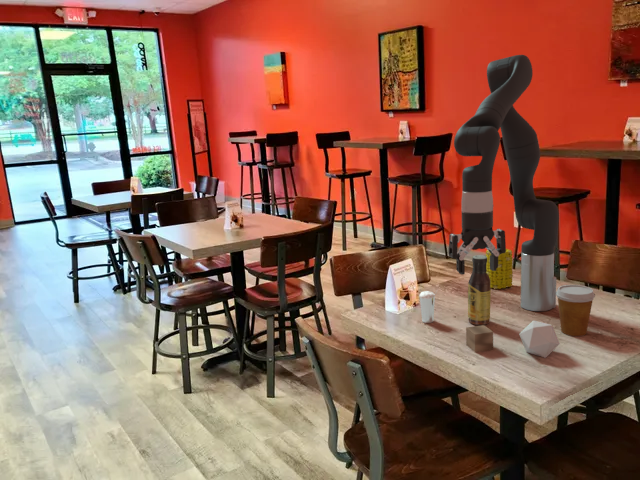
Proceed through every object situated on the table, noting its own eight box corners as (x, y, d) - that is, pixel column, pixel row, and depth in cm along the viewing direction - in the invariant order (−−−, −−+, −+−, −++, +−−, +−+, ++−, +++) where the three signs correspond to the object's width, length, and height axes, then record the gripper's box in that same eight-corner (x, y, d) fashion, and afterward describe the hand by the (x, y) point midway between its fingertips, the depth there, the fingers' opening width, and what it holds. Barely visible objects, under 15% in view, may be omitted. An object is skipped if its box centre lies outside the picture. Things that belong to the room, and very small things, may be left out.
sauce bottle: (465, 319, 165) (465, 254, 160) (487, 317, 164) (487, 252, 160) (471, 327, 158) (470, 259, 154) (493, 326, 158) (493, 258, 154)
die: (565, 355, 138) (552, 318, 142) (560, 351, 131) (546, 312, 135) (532, 363, 141) (520, 327, 145) (525, 359, 134) (513, 321, 138)
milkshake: (438, 324, 162) (437, 291, 160) (419, 323, 163) (418, 291, 161) (438, 318, 166) (437, 286, 164) (420, 318, 168) (419, 286, 165)
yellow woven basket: (488, 294, 190) (487, 287, 198) (521, 287, 186) (519, 281, 195) (478, 254, 188) (478, 249, 197) (511, 247, 185) (509, 242, 194)
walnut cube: (483, 342, 147) (483, 325, 146) (493, 350, 143) (493, 331, 142) (466, 345, 147) (466, 327, 145) (475, 352, 142) (474, 334, 141)
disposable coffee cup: (590, 326, 153) (592, 284, 151) (595, 339, 144) (597, 295, 142) (553, 324, 156) (554, 283, 154) (555, 337, 148) (557, 294, 145)
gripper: (496, 204, 142) (496, 265, 145) (443, 209, 140) (444, 271, 143) (511, 208, 135) (510, 272, 138) (456, 213, 132) (456, 279, 136)
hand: (477, 272), depth 141 cm, fingers open, 8 cm apart
